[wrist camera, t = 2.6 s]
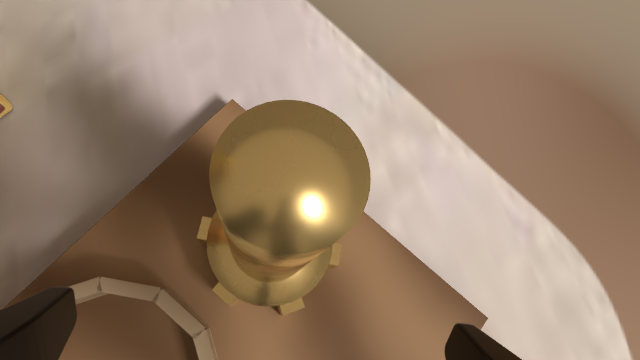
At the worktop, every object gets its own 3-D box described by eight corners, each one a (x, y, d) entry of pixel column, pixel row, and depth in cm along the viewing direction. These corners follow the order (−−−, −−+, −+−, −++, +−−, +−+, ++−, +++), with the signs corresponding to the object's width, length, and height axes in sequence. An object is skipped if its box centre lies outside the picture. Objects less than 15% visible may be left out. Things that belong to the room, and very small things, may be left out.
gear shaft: (271, 342, 20) (301, 389, 8) (175, 256, 20) (78, 186, 9) (355, 239, 22) (472, 161, 10) (267, 162, 22) (285, 6, 11)
